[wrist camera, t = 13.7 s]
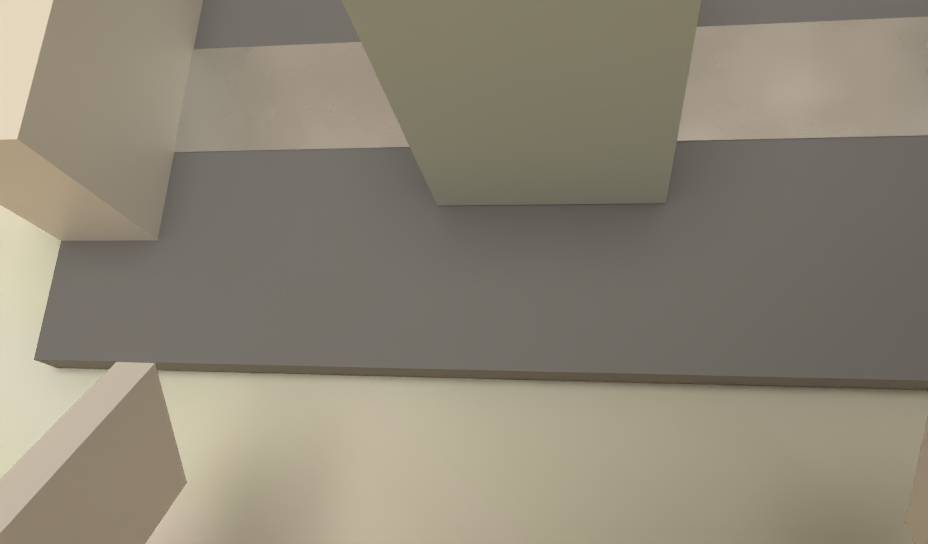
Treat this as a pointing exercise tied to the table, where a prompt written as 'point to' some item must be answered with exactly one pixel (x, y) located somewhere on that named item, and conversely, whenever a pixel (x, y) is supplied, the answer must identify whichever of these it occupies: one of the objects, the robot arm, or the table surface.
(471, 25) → the block
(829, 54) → the rail plate
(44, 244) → the table surface
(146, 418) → the robot arm
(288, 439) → the table surface
